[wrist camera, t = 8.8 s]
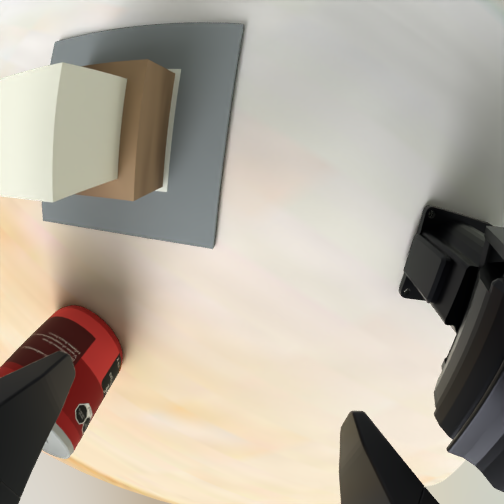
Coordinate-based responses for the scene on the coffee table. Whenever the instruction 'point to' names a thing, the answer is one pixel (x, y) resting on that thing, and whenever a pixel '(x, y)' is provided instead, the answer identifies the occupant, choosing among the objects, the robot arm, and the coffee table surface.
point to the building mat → (179, 130)
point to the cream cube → (59, 131)
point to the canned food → (86, 369)
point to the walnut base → (139, 129)
